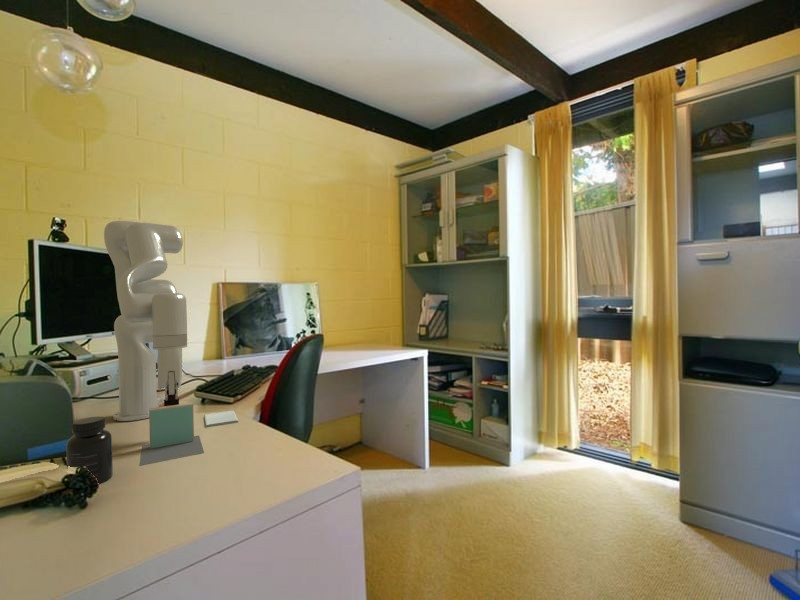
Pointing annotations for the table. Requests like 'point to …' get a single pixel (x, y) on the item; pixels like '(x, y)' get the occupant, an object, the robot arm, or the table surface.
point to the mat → (170, 451)
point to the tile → (171, 425)
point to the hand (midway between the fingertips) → (171, 415)
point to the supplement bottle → (91, 448)
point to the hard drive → (220, 418)
